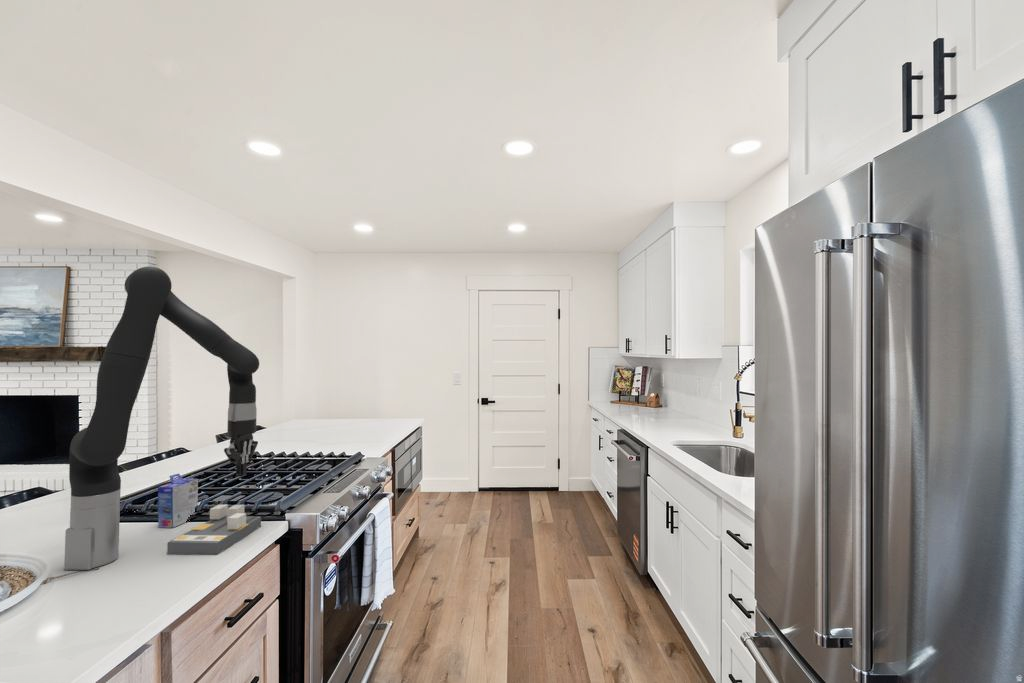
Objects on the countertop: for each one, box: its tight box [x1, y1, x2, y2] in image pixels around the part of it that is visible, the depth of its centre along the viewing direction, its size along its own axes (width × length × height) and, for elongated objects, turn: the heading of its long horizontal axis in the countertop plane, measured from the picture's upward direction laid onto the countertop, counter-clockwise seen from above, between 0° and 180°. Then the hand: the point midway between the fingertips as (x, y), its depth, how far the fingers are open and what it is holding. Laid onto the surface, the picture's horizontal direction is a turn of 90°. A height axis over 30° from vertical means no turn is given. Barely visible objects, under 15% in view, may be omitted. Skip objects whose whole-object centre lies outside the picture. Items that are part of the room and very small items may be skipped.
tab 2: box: [227, 512, 247, 529], centre depth 130 cm, size 4×3×3 cm
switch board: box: [166, 515, 262, 556], centre depth 129 cm, size 20×14×3 cm
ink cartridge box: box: [157, 473, 199, 529], centre depth 143 cm, size 10×6×14 cm, turn 174°
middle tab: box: [227, 504, 245, 519], centre depth 137 cm, size 4×3×3 cm
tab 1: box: [209, 504, 229, 520], centre depth 138 cm, size 4×3×3 cm
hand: (241, 475), depth 140 cm, fingers closed
